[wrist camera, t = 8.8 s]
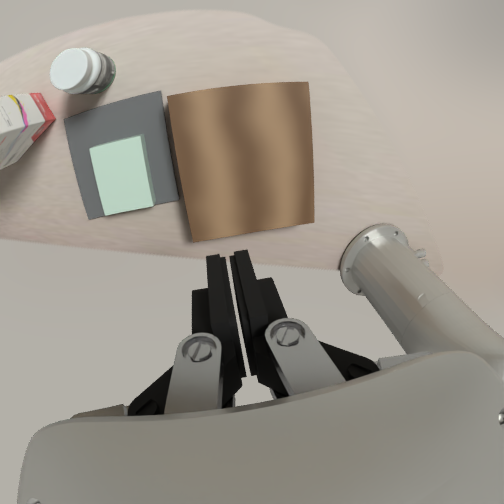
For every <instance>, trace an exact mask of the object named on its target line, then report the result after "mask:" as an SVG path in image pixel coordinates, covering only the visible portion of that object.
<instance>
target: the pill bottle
mask: <svg viewBox="0 0 504 504" xmlns="http://www.w3.org/2000/svg"><path fill="white" fill-rule="evenodd" d="M115 74H116V67H115V64H114V62H113V60H112V59H111V58H110V57H108V56H106V55H104V54H102V53H99V52H97V51H95V50H93V49H90V48H70V49H67V50H65V51H63V52H61V53H60V54H59V55H58V56H57V57H56V58H55V60H54V61H53V63H52V65H51V68H50V80H51V83H52V84H53V86H54V87H56V88H57V89H60V90H63V91H65V92H67V93H70V94H96V93H99V92H102V91H104V90H105V89H107V88H108V87H109V86H110V84H111V83H112V82H113V80H114V77H115Z"/></svg>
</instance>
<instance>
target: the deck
mask: <svg viewBox="0 0 504 504" xmlns="http://www.w3.org/2000/svg"><path fill="white" fill-rule="evenodd" d="M167 99H168V107H169V113H170V120H171V127H172V133H173V139H174V145H175V151H176V157H177V163H178V168H179V174H180V179H181V184H182V190H183V195H184V200H185V205H186V210H187V215H188V220H189V225H190V229H191V234H192V239H193V243H194V242H199V241H205V240H211V239H216V238H222V237H228V236H234V235H240V234H246V233H252V232H258V231H264V230H270V229H276V228H283V227H289V226H295V225H301V224H308V223H314V170H313V144H312V125H311V109H310V95H309V83H308V82H279V83H261V84H248V85H238V86H228V87H220V88H213V89H206V90H199V91H193V92H187V93H181V94H176V95H171V96H167Z"/></svg>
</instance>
